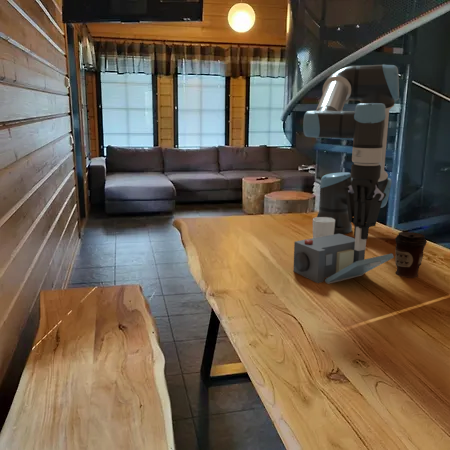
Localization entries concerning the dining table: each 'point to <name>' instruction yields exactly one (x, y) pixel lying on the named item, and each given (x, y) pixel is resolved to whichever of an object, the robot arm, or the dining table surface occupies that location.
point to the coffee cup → (409, 253)
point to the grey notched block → (325, 256)
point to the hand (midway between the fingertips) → (359, 249)
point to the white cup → (323, 226)
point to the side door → (358, 268)
